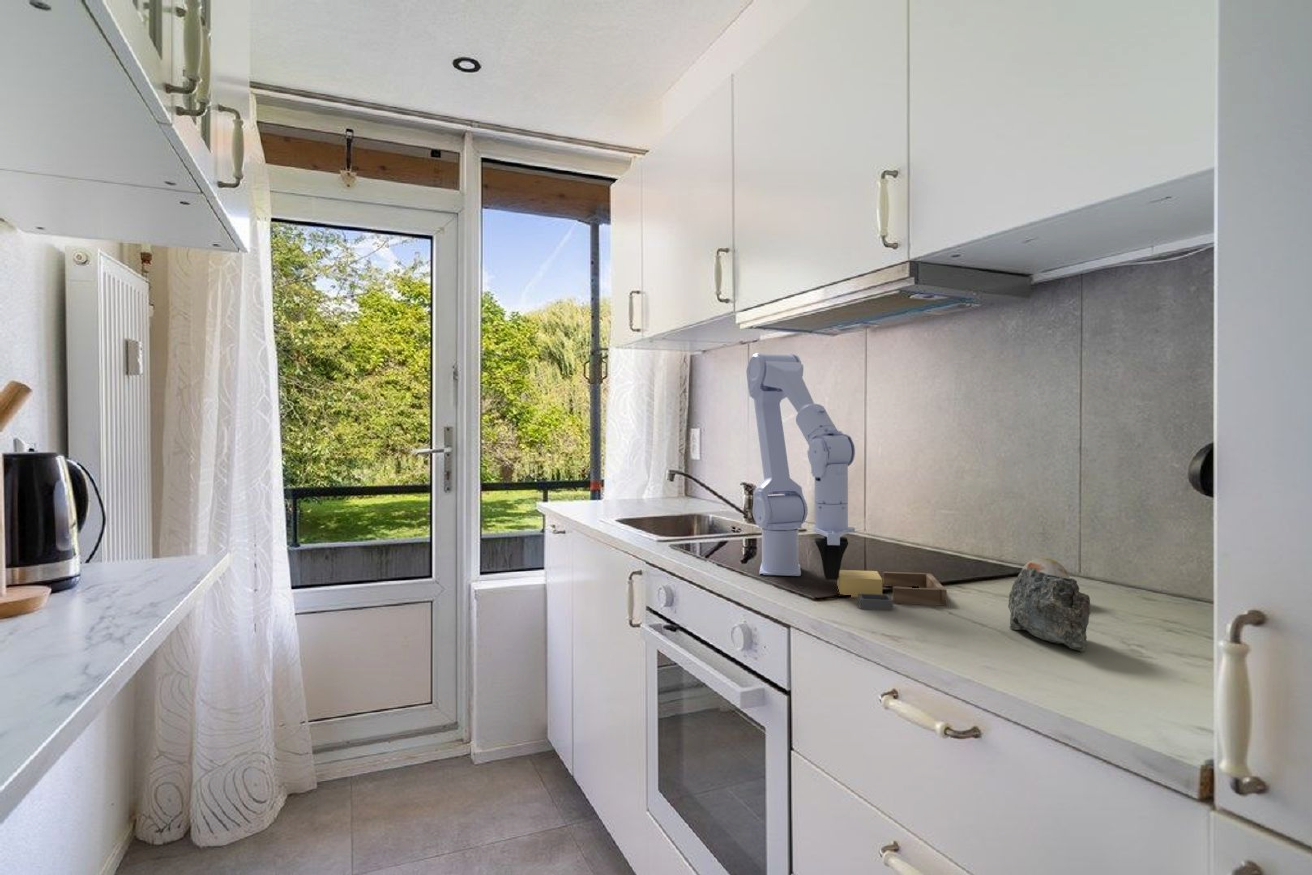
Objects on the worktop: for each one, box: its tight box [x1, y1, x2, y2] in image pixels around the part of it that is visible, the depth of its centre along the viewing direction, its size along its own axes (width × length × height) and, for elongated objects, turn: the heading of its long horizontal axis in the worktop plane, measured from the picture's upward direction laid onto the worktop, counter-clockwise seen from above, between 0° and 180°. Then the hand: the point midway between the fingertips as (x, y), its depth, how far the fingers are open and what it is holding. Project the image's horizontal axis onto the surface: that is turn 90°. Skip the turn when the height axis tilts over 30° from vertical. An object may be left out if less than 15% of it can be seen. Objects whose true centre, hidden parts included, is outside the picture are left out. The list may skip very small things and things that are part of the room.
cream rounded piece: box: [1022, 557, 1070, 579], centre depth 114 cm, size 8×10×10 cm
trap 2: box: [857, 593, 894, 611], centre depth 112 cm, size 4×5×2 cm
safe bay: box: [882, 571, 948, 606], centre depth 120 cm, size 13×8×2 cm, turn 169°
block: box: [836, 569, 883, 598], centre depth 122 cm, size 7×7×4 cm
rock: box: [1007, 567, 1092, 652], centre depth 95 cm, size 14×10×10 cm
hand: (831, 579), depth 122 cm, fingers closed, pressing on block
